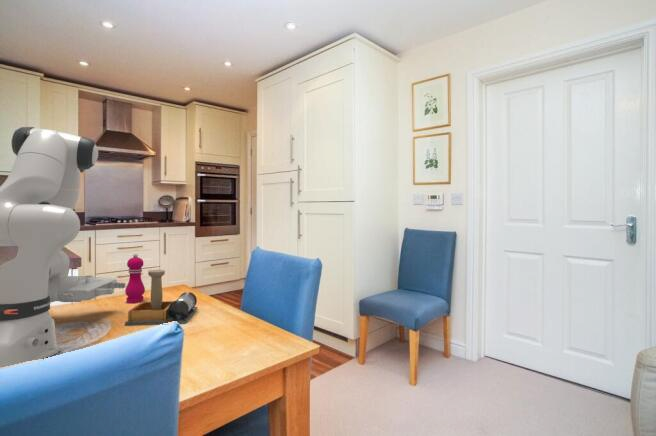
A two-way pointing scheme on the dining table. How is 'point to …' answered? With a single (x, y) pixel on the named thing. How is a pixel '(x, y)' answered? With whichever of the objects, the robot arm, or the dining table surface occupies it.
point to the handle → (156, 288)
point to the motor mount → (163, 311)
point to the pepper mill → (135, 280)
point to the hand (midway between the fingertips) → (119, 288)
